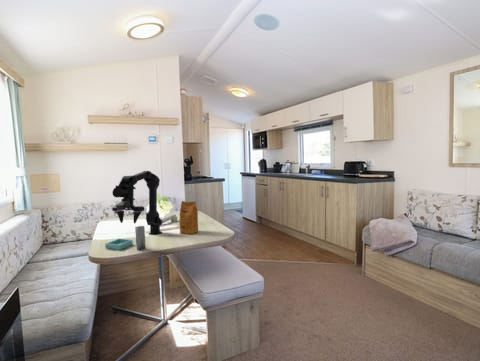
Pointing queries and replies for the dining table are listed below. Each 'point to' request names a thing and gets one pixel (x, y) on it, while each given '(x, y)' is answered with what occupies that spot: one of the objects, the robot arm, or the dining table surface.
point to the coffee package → (188, 218)
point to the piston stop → (140, 238)
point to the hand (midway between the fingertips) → (128, 223)
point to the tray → (119, 244)
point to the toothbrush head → (170, 218)
